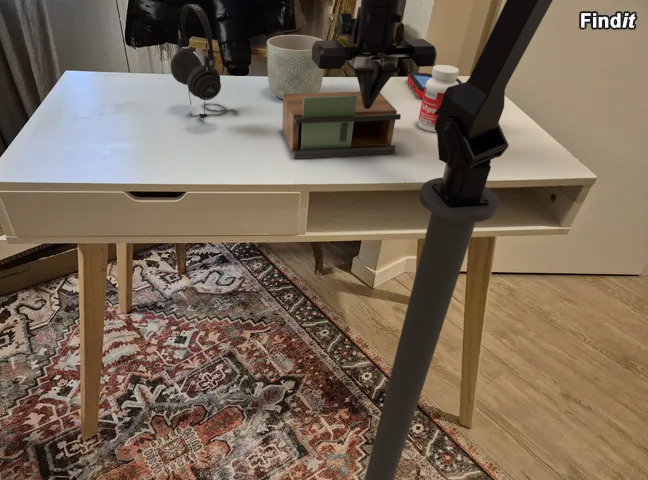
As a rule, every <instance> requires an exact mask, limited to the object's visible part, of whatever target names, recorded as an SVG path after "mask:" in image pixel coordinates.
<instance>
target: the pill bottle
mask: <svg viewBox="0 0 648 480" xmlns="http://www.w3.org/2000/svg"><path fill="white" fill-rule="evenodd" d="M459 73H460V69H459V68H458V67H456V66H452V65H447V64H435V65H434V66H432V71H431V74H432V76H433V77H432V78H430V79H429V80H428V81H427V82H426V85H425V90H424V95H423V99H422V100H421V104H420V109H419V114H418V119H417V126H418V127H419V128H421V129H423V130H425V131H427V132H433V133H437V132H436V131H435V122H436V118H437V117H438V115H435V114H434V113H435V112H436V111H437V110H438V108H439V107H440V105H441V103H442V100H443V96H444V93H445V91H446V89H447V88H448V87H451V86H454V85H457V84H458V82H457V81H456V79H457V78H458V79H459Z"/></svg>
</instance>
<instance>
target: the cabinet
mask: <svg viewBox="0 0 648 480" xmlns="http://www.w3.org/2000/svg"><path fill="white" fill-rule="evenodd" d="M353 95H356V96H357V99H356V107H355V116H331V117H305V118H302V117H303V98H304V97H321V96H353ZM282 104H283V105H282V129H281V130H282V133H283V135H284V138H285V141H286V143H287V145H288V147H289V150H290V152H291V154H292V157H293V159H294V160H301V159H320V158H340V157H360V156H361V157H362V156H381V155H395V151H396V146H395V144H392V141H393V137H394V136H393V135H394V131H395V125H396V120H398V121H399V120H401V117H402V114H400V113H398V110H397V109H396V108H395V107H394V106H393V105H392V104H391V103H390V101H389V100H388V99H387V98H386V97H385V96H384V95H383V94H382V93H381V92H380V93H379V94H378V96H377V98H376V99H375V101H374V103H373V104H372V106H371V107H370V109H365V108H364V106H363V102H362V97H361V92H360V91H336V92H335V91H334V92H319V93H298V94H283V99H282ZM350 121H354V124H353V132H352V140H351V147H343V148H323V149H302V150H301V135H302V123H325V122H350Z"/></svg>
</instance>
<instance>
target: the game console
mask: <svg viewBox="0 0 648 480" xmlns="http://www.w3.org/2000/svg"><path fill="white" fill-rule="evenodd" d="M432 77H433V76H432V73H427V72H418V71H411V72H409V73H407V82H408V84H409V85H410V87H411V88H412V90H413V91H414V93H415V94H416V96H417V98H419V99H420V100H421V99H423V95H424V90H425V85H426V82H427V81H428V80H429V79H430V78H432ZM456 81H457V82H458V84H461V83H463V82H462V81H461V79H459V77H458V78H457V79H456Z"/></svg>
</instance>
